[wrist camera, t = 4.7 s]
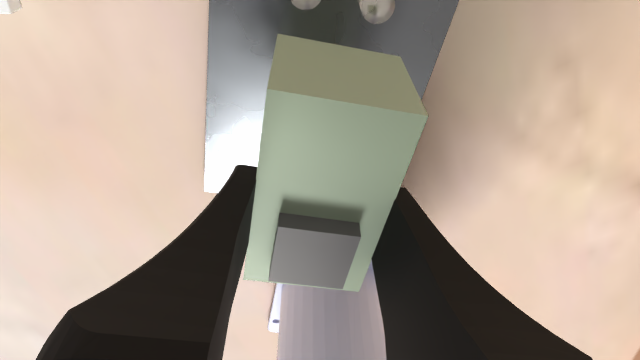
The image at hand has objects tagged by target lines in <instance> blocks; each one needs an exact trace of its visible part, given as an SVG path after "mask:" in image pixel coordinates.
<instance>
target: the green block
mask: <svg viewBox="0 0 640 360" xmlns="http://www.w3.org/2000/svg"><path fill="white" fill-rule="evenodd" d="M427 119H428V114H427V112H426V110H425V108H424V106H423V103H422V101H421V99H420V97H419V95H418V93H417V91H416V89H415V86H414V84H413V82H412V80H411V78H410V76H409V74H408V72H407V69H406V67H405V65H404V63H403V61H402V59H401V57H400V56H395V55H390V54H384V53H379V52H374V51H368V50H363V49H358V48H352V47H347V46H342V45H336V44H331V43H325V42H320V41H315V40H309V39H304V38H299V37H293V36H288V35H283V34H278V35H277V40H276V45H275V50H274V55H273V60H272V66H271V71H270V76H269V81H268V86H267V93H266V101H265V109H264V117H263V125H262V133H261V141H260V149H259V157H258V165H257V173H256V188H255V196H254V204H253V212H252V220H251V228H250V236H249V244H248V248H247V253H246V261H245V270H244V278H243V280H253V281H262V282H271V283H280V284H290V285H299V286H308V287H318V288H327V289H336V290H345V291H355V292H359V290H360V288H361V285H362V283H363V280H364V278H365V275H366V273H367V270H368V268H369V265H370V263H371V258H372V256H373V253H374V251H375V248H376V245H377V243H378V240H379V238H380V235H381V233H382V230H383V228H384V225H385V223H386V220H387V218H388V215H389V213H390V210H391V207H392V205H393V202H394V200H395V199H396V197H397V194H398V192H399V189H400V187H401V184H402V182H403V179H404V177H405V174H406V172H407V169H408V167H409V164H410V162H411V159H412V157H413V154H414V151H415V149H416V146H417V144H418V141H419V139H420V136H421V134H422V131H423V129H424V126H425V124H426V121H427Z"/></svg>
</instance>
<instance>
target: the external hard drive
mask: <svg viewBox="0 0 640 360" xmlns="http://www.w3.org/2000/svg"><path fill="white" fill-rule="evenodd" d="M21 8H22V5H21V2H20V0H0V14H12V13H14V12H16V11H18V10H20V9H21Z"/></svg>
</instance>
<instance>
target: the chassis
mask: <svg viewBox="0 0 640 360" xmlns="http://www.w3.org/2000/svg"><path fill="white" fill-rule="evenodd" d="M458 2H459V0H209V31H208V67H207V103H206V139H205V175H204V191H206V192H213V193H218V192H219V191H220V190H221V188H222V187H223V186H224V184H225V183H226V181H227V180H228V178H229V177H230V175H231V173H232V172H233V170H234V168H235V166H237V165H238V164H242V165H249V166H256V167H257V165H258V157H259V149H260V141H261V133H262V125H263V117H264V109H265V101H266V93H267V86H268V81H269V76H270V71H271V66H272V60H273V55H274V50H275V45H276V40H277V35H278V34H283V35H288V36H293V37H299V38H304V39H309V40H315V41H320V42H325V43H331V44H336V45H342V46H347V47H352V48H358V49H363V50H368V51H374V52H379V53H384V54H390V55H395V56H400V57H401V59H402V61H403V63H404V65H405V67H406V69H407V72H408V74H409V76H410V78H411V80H412V82H413V84H414V86H415V89H416V91H417V93H418V95H419V97H420V99H421V100H422V97H423V94H424V92H425V89H426V86H427V84H428V81H429V79H430V76H431V73H432V71H433V68H434V65H435V63H436V60H437V57H438V55H439V52H440V49H441V47H442V44H443V42H444V39H445V36H446V34H447V31H448V28H449V26H450V23H451V20H452V18H453V15H454V12H455V10H456V7H457V5H458Z"/></svg>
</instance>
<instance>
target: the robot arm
mask: <svg viewBox="0 0 640 360" xmlns="http://www.w3.org/2000/svg"><path fill="white" fill-rule="evenodd" d="M256 173H257V167H256V166H249V165H242V164H238V165H237V166H235V168H234V170H233V172H232V173H231V175H230V177H229V178H228V180H227V181H226V183H225V184H224V186H223V187H222V188H221V190H220V191H219V192H218V194H217V195H216V196H215V197H214V199H213V200H212V201H211V202H210V204H209V205H208V206H207V207H206V208H205V209H204V210H203V212H202V213H201V214H200V215H199V216H198V217H197V218H196V219H195V220H194V221H193V222H192V223H191V224H190V225H189V226H188V227H187V228H186V229H185V230H184V231H183V232H182V233H181V234H180V235H179V236H178V237H177V238H176V239H175V240H173V241H172V242H171V243H170V244H169V245H168V246H166V247H165V248H164V249H163V250H161V251H160V252H159V253H158V254H157V255H155V256H154V257H153V258H151V259H150V260H149V261H147V262H146V263H145V264H143V265H142V266H141V267H139V268H138V269H136V270H135V271H133V272H132V273H130V274H129V275H127V276H126V277H124V278H123V279H121V280H120V281H118V282H117V283H115V284H114V285H112V286H110V287H109V288H107V289H106V290H104V291H102V292H100V293H98V294H97V295H95V296H93V297H91V298H90V299H88V300H86V301H84V302H82V303H81V304H79V305H77V306H75V307H73V308H71V309H70V310H68V312H67V313H66V314H65V315H64V317H63V318H62V319H61V321H60V322H59V323H58V325H57V326H56V327H55V329H54V330H53V332H52V333H51V334H50V336H49V337H48V339H47V340H46V342H45V344H44V345H43V347H42V349H41V351H40V353H39V354H38V356H37V358H36V360H222V357H223V351H224V345H225V339H226V334H227V328H228V322H229V317H230V312H231V308H232V304H233V300H234V296H235V292H236V289H237V285H238V281H239V278H240V274H241V270H242V266H243V263H244V259H245V255H246V252H247V248H248V244H249V236H250V228H251V220H252V212H253V204H254V196H255V188H256ZM268 330H269V331H271V332H277V333H279V334H278V349H277V360H593V359H592V358H591V357H590V356H588V355H586V354H585V353H583V352H582V351H580V350H579V349H577V348H575V347H574V346H572V345H571V344H569V343H567V342H566V341H564V340H563V339H561V338H559V337H558V336H556V335H555V334H553V333H552V332H550V331H549V330H547V329H546V328H545V327H543V326H542V325H540V324H539V323H538V322H536V321H535V320H533V319H532V318H531V317H529V316H528V315H527V314H525V313H524V312H523V311H521V310H520V309H519V308H517V307H516V306H515V305H514V304H512V303H511V302H510V301H509V300H507V299H506V298H505V297H504V296H503V295H501V294H500V293H499V292H498V291H497V290H495V289H494V288H493V287H492V286H491V285H490V284H489V283H488V282H486V281H485V280H484V279H483V278H482V277H481V276H480V275H479V274H478V273H477V272H476V271H475V270H474V269H473V268H472V267H471V266H470V265H469V264H468V263H467V262H466V261H465V260H464V259H463V258H462V257H461V256H460V255H459V254H458V252H457V251H456V250H455V249H454V248H453V247H452V246H451V245H450V244H449V242H448V241H447V240H446V239H445V238H444V237H443V235H442V234H441V233H440V232H439V230H438V229H437V228H436V227H435V225H434V224H433V223H432V222H431V220H430V219H429V218H428V217H427V215H426V214H425V213H424V211H423V210H422V209H421V207H420V206H419V205H418V203H417V202H416V201H415V199H414V198H413V197H412V196H411V194H410V193H409V192H408V191H407V189H406V188H402V187H400V189H399V192H398V194H397V197H396V199H395V200H394V202H393V205H392V207H391V210H390V213H389V215H388V218H387V220H386V223H385V225H384V228H383V230H382V233H381V235H380V238H379V240H378V243H377V245H376V248H375V251H374V253H373V256H372V258H371V263H370V265H369V268H368V270H367V273H366V275H365V278H364V280H363V283H362V285H361V288H360V290H359V292H355V291H345V290H336V289H327V288H318V287H308V286H299V285H290V284H280V283H276V288H275V292H274V297H273V302H272V307H271V312H270V317H269V322H268Z"/></svg>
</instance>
